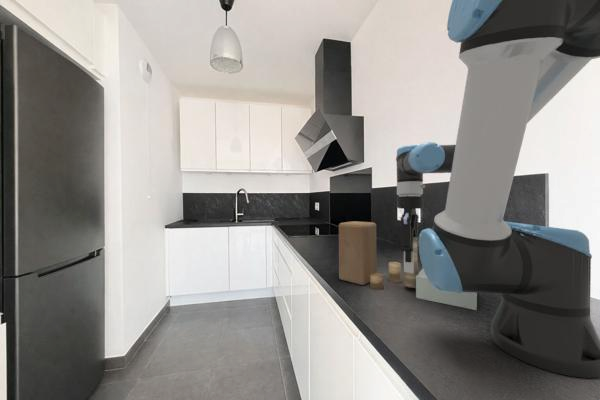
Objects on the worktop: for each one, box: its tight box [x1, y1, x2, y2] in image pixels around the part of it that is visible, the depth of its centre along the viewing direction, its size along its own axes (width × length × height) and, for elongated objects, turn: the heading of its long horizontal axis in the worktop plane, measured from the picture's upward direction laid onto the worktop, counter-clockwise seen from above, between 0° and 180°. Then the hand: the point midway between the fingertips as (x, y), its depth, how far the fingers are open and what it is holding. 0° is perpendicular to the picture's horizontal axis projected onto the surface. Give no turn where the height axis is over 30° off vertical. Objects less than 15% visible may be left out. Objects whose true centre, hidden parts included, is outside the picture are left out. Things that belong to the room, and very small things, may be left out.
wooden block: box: [338, 220, 378, 286], centre depth 87 cm, size 10×10×20 cm
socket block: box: [415, 268, 478, 311], centre depth 72 cm, size 14×14×6 cm
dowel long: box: [403, 237, 419, 289], centre depth 78 cm, size 4×4×15 cm
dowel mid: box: [388, 261, 402, 284], centre depth 85 cm, size 4×4×6 cm
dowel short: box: [369, 273, 384, 291], centre depth 79 cm, size 4×4×4 cm
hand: (410, 270), depth 78 cm, fingers closed on dowel long, 4 cm apart
